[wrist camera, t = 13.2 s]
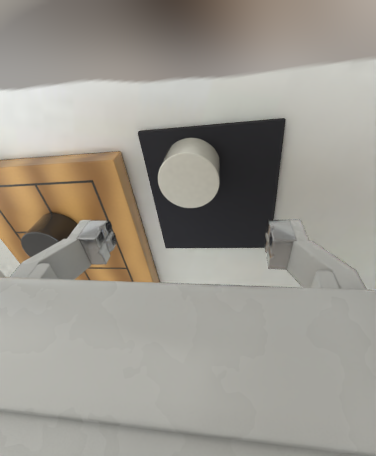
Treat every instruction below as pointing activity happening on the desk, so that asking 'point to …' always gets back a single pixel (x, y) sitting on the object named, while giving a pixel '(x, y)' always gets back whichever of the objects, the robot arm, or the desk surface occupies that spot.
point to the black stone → (47, 233)
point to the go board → (77, 207)
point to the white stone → (190, 173)
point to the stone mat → (222, 184)
